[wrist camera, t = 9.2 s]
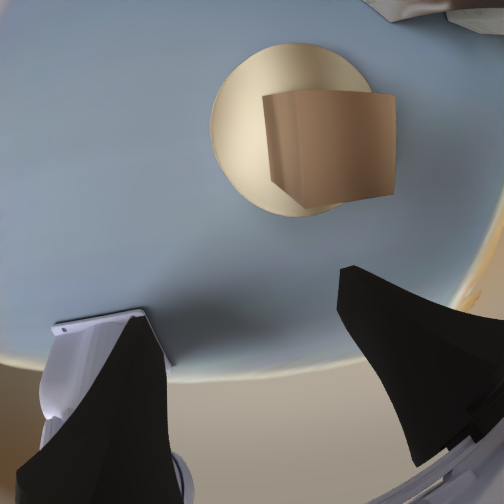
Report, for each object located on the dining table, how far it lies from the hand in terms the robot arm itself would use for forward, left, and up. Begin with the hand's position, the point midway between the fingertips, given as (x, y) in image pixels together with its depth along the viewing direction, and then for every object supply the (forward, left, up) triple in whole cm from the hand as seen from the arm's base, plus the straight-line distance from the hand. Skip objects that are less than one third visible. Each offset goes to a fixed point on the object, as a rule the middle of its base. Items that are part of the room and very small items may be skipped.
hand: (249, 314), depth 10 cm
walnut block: (+6, +5, -8) cm, 11 cm away
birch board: (+6, +5, -10) cm, 13 cm away
